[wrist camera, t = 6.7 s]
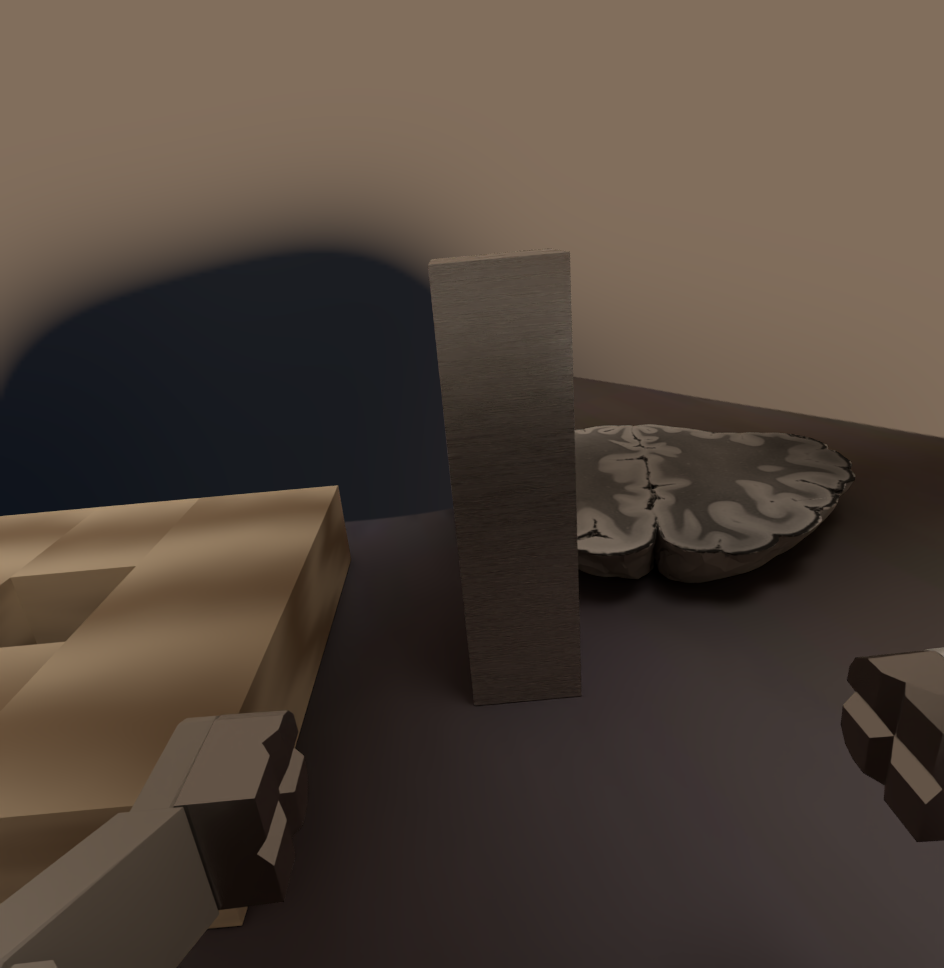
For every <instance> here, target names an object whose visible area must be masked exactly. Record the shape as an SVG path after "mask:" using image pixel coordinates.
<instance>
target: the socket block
mask: <svg viewBox="0 0 944 968" xmlns="http://www.w3.org/2000/svg"><path fill="white" fill-rule="evenodd" d="M350 561H351V557H350V551H349V545H348V540H347V534H346V528H345V522H344V517H343V511H342V505H341V500H340V494H339V488H338V486H328V487H317V488H305V489H294V490H283V491H273V492H261V493H250V494H239V495H228V496H218V497H207V498H196V499H185V500H174V501H164V502H152V503H141V504H132V505H119V506H108V507H97V508H87V509H75V510H66V511H55V512H43V513H32V514H21V515H10V516H0V904H1V903H2V902H4V901H5V900H6V899H8V898H9V897H10V896H12V895H13V894H14V893H15V892H17V891H18V890H19V889H21V888H22V887H23V886H25V885H26V884H27V883H28V882H30V881H31V880H32V879H34V878H35V877H36V876H37V875H39V874H40V873H41V872H43V871H44V870H45V869H47V868H48V867H49V866H50V865H52V864H53V863H54V862H56V861H57V860H58V859H59V858H61V857H62V856H63V855H65V854H66V853H67V852H69V851H70V850H71V849H72V848H74V847H75V846H76V845H78V844H79V843H80V842H81V841H83V840H84V839H85V838H87V837H88V836H89V835H91V834H92V833H93V832H94V831H96V830H97V829H98V828H100V827H101V826H102V825H103V824H105V823H106V822H107V821H109V820H110V819H111V818H113V817H114V816H115V815H116V814H118V813H124V812H130V810H131V808H132V806H133V805H134V803H135V801H136V799H137V797H138V796H139V794H140V792H141V790H142V788H143V787H144V785H145V783H146V781H147V779H148V778H149V776H150V774H151V772H152V770H153V768H154V767H155V765H156V763H157V761H158V759H159V758H160V756H161V754H162V752H163V750H164V749H165V747H166V745H167V743H168V741H169V740H170V738H171V736H172V734H173V732H174V731H175V729H176V727H177V725H178V724H179V723H180V722H182V721H183V720H185V719H186V718H193V717H207V716H221V715H227V714H241V713H255V712H270V711H284V710H289V711H290V712H292V713H293V714H294V718H295V721H296V725H297V728H298V735H297V739H298V736H299V733H300V729H301V726H302V723H303V719H304V716H305V713H306V709H307V706H308V702H309V699H310V696H311V692H312V689H313V686H314V682H315V679H316V676H317V672H318V669H319V666H320V662H321V659H322V655H323V652H324V649H325V645H326V642H327V639H328V635H329V632H330V629H331V625H332V622H333V619H334V615H335V612H336V608H337V605H338V602H339V598H340V595H341V592H342V588H343V585H344V582H345V578H346V575H347V571H348V568H349V565H350ZM297 739H296V742H295V746H296V743H297ZM295 746H294V748H295ZM218 911H219V915H218V917H217V918H216V919H215V920H214V922H213V923H212V924H211V925H210V927H209V928H219V927H230V926H241V925H242V924H243V921H244V917H245V914H246V911H247V907H241V908H233V909H225V910H218ZM209 928H208V929H209Z"/></svg>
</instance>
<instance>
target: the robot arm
mask: <svg viewBox="0 0 944 968" xmlns="http://www.w3.org/2000/svg"><path fill="white" fill-rule="evenodd" d="M847 681H848V683H849V684H850V685H851V687H852V688H853V689H854V691H855V693H854V694H853V695H852V696H851V697H850V698H849V699H848V700H847V701H846V703H845V704H844V705H843V708H842V717H841V728H842V733H843V737H844V741H845V745H846V747H847V749H848V751H849V753H850V755H851V757H852V759H853V760H854V762H855V763H856V764H857V766H858V767H859V768H860V770H861V771H862V772H863V773H864V774H865V775H867V776H869V777H871V778H872V779H874V780H876V781H878V782H879V783H881V784H883V785H885V786H884V801H885V802H886V803H887V805H888V806H889V807H890V808H891V810H892V811H893V812H894V814H895V815H896V816H897V817H898V819H899V820H900V821H901V823H902V824H903V825H904V826H905V828H906V829H907V830H908V831H909V833H910V834H911V835H912V837H913V838H914V839H915V840H916V842H928V841H944V647H943V648H935V649H926V650H925V651H915V652H905V653H895V654H885V655H875V656H865V657H856V658H855V659H854V660H853V662H852V663H851V665H850V666H849V672H848V677H847ZM297 735H298V728H297V725H296V721H295V718H294V714H293V713H292V712H290V711H289V710H284V711H270V712H255V713H241V714H227V715H221V716H207V717H193V718H186V719H185V720H183V721H182V722H180V723H179V724H178V725H177V727H176V729H175V731H174V732H173V734H172V736H171V738H170V740H169V741H168V743H167V745H166V747H165V749H164V750H163V752H162V754H161V756H160V758H159V759H158V761H157V763H156V765H155V767H154V768H153V770H152V772H151V774H150V776H149V778H148V779H147V781H146V783H145V785H144V787H143V788H142V790H141V792H140V794H139V796H138V797H137V799H136V801H135V803H134V805H133V806H132V808H131V810H130V812H124V813H118V814H116V815H115V816H114V817H113V818H111V819H110V820H109V821H107V822H106V823H105V824H103V825H102V826H101V827H100V828H98V829H97V830H96V831H94V832H93V833H92V834H91V835H89V836H88V837H87V838H85V839H84V840H83V841H81V842H80V843H79V844H78V845H76V846H75V847H74V848H72V849H71V850H70V851H69V852H67V853H66V854H65V855H63V856H62V857H61V858H59V859H58V860H57V861H56V862H54V863H53V864H52V865H50V866H49V867H48V868H47V869H45V870H44V871H43V872H41V873H40V874H39V875H37V876H36V877H35V878H34V879H32V880H31V881H30V882H28V883H27V884H26V885H25V886H23V887H22V888H21V889H19V890H18V891H17V892H15V893H14V894H13V895H12V896H10V897H9V898H8V899H6V900H5V901H4V902H2V903H1V904H0V968H176V967H177V966H178V965H179V964H180V962H181V961H182V960H183V959H184V958H185V956H186V955H187V954H188V953H189V951H190V950H191V949H192V948H193V946H194V945H195V944H196V943H197V941H198V940H199V939H200V938H201V936H202V935H203V934H204V933H205V931H206V930H207V929H208V928H209V927H210V925H211V924H212V923H213V922H214V920H215V919H216V918H217V917H218V915H219V911H218V910H225V909H233V908H241V907H249V906H257V905H265V904H272V903H280V902H284V901H285V897H286V893H287V889H288V885H289V881H290V877H291V873H292V869H293V864H294V860H295V856H296V854H295V850H294V846H293V842H292V837H293V836H294V835H295V834H296V833H297V832H298V831H299V830H300V829H301V827H302V826H303V823H304V819H305V814H306V810H307V800H308V774H307V767H306V762H305V758H304V755H302V754H301V753H300V752H299V751H298V750H296V749H295V748H294V746H295V742H296V739H297Z"/></svg>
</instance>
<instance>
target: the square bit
mask: <svg viewBox="0 0 944 968" xmlns="http://www.w3.org/2000/svg"><path fill="white" fill-rule="evenodd" d="M428 269H429V279H430V287H431V298H432V307H433V317H434V326H435V336H436V344H437V345H436V346H437V355H438V365H439V374H440V384H441V393H442V403H443V412H444V420H445V431H446V440H447V450H448V460H449V469H450V479H451V488H452V498H453V507H454V517H455V526H456V536H457V546H458V555H459V565H460V574H461V584H462V593H463V603H464V612H465V622H466V631H467V641H468V650H469V660H470V669H471V679H472V688H473V698H474V706H476V705H487V704H498V703H509V702H520V701H531V700H541V699H552V698H563V697H574V696H582V694H581V657H580V619H579V581H578V544H577V506H576V468H575V431H574V393H573V355H572V321H571V281H570V252H567V251H561V250H555V249H538V250H527V251H517V252H505V253H494V254H484V255H473V256H462V257H451V258H440V259H431V261H430V263H429V264H428Z"/></svg>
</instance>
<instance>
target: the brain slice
mask: <svg viewBox="0 0 944 968" xmlns="http://www.w3.org/2000/svg"><path fill="white" fill-rule="evenodd" d="M574 431H575V468H576V506H577V544H578V569H579V570H581V571H583V572H585V573H588V574H591V575H596V576H602V577H617V576H619V577H620V578H628V579H639V578H640V577H642V576H645V575H647V574H648V573H649V572H650V571H651V570H653V568H654V558H655V559H656V561H655V564H657V568H658V570H659V573H661V574H662V575H664V576H665V577H667V578H668V579H671V580H675V581H682V582H684V583H702V582H707V581H712V580H717V579H721V578H726V577H730V576H734V575H738V574H743V573H746V572H749V571H752V570H754V569H757V568H759V567H761V566H762V565H764V564H765V563H767V562H768V561H770V560H771V559H772V558H774V557H775V556H777V555H780V554H782V553H784V552H786V551H788V550H789V549H791V548H792V547H794V546H795V545H796V544H797V543H799V542H800V541H801V540H803V539H804V538H805V537H806V536H808V535H809V534H810V533H811V532H813V531H814V530H815V529H816V528H817V527H818V526H819V525H820V524H821V523H822V522H823V521H824V520H825V519H826V518H827V517H828V516H829V514H830V513H831V512H832V511H833V510H834V508H835V506H836V505H837V502H838V499H839V497H840V496H841V495H842V494H844V493H845V492H846V491H847V490H848V489H849V487H850V486H851V485H852V483H853V482H854V480H855V474H854V473H853V472H852V471H851V467H852V463H851V461H850V460H848V459H847V458H845V457H844V456H842V455H841V454H840V453H839V452H837V451H835V450H828V446H827V445H826V444H824V443H822V442H820V441H817V440H815V439H812V438H809V437H805V436H800V435H794V434H784V433H715V432H708V431H702V430H695V429H689V428H676V427H670V426H662V425H651V424H649V425H639V426H631V425H624V426H597V427H591V428H586V429H580V430H574Z"/></svg>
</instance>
